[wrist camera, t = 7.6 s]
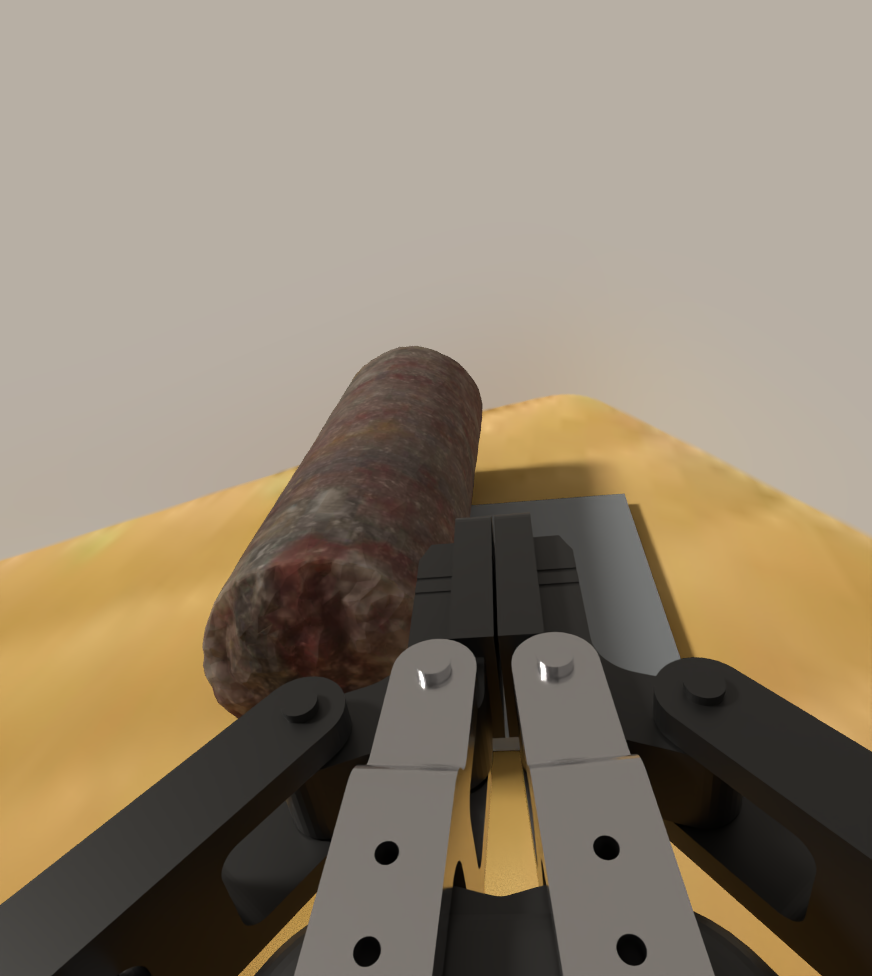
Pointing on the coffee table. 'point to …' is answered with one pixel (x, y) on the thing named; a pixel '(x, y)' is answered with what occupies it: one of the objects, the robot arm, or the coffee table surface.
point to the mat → (603, 580)
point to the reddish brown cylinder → (350, 534)
